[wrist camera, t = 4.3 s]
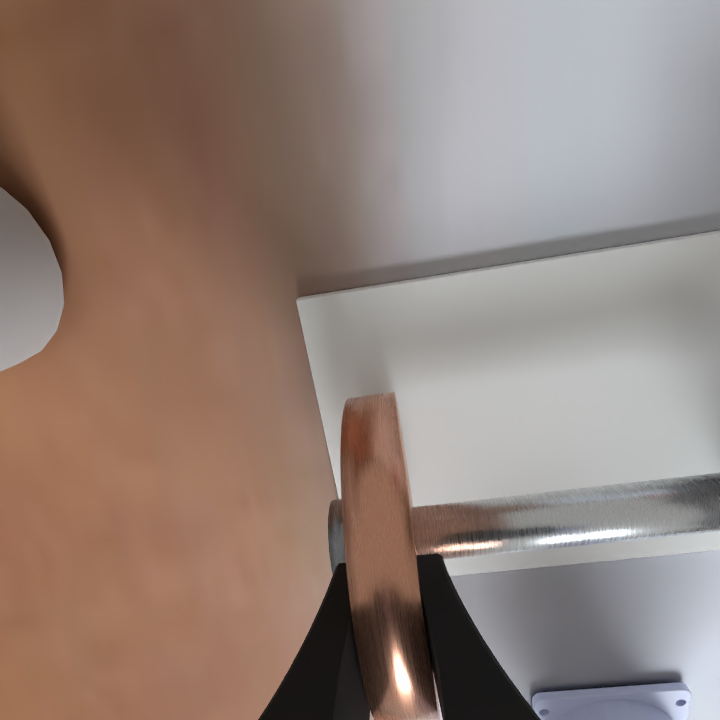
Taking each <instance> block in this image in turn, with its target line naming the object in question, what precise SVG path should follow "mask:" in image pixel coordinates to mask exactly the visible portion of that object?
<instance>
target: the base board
mask: <svg viewBox="0 0 720 720" xmlns="http://www.w3.org/2000/svg"><path fill="white" fill-rule="evenodd" d="M296 302H297V307H298V312H299V316H300V321H301V326H302V330H303V335H304V339H305V344H306V349H307V353H308V358H309V363H310V367H311V372H312V377H313V381H314V386H315V390H316V395H317V400H318V404H319V409H320V414H321V418H322V423H323V428H324V432H325V437H326V442H327V446H328V451H329V455H330V460H331V465H332V469H333V474H334V479H335V483H336V488H337V493H338V497H339V499H341V473H340V448H341V425H342V416H343V410H344V405H345V402H346V400H347V399H348V398H353V397H360V396H367V395H374V394H382V393H389V392H395V394H396V399H397V404H398V410H399V416H400V422H401V429H402V435H403V442H404V448H405V455H406V461H407V468H408V475H409V482H410V489H411V496H412V503H413V507H418V506H427V505H436V504H445V503H454V502H463V501H471V500H480V499H489V498H498V497H507V496H516V495H525V494H533V493H542V492H551V491H560V490H569V489H578V488H586V487H595V486H604V485H613V484H622V483H631V482H639V481H648V480H657V479H666V478H675V477H684V476H693V475H701V474H710V473H719V472H720V230H719V231H713V232H707V233H700V234H694V235H688V236H681V237H675V238H669V239H663V240H656V241H650V242H644V243H637V244H631V245H625V246H619V247H612V248H606V249H600V250H593V251H587V252H581V253H575V254H568V255H562V256H556V257H549V258H543V259H537V260H531V261H524V262H518V263H512V264H505V265H499V266H493V267H487V268H480V269H474V270H468V271H461V272H455V273H449V274H443V275H436V276H430V277H424V278H417V279H411V280H405V281H399V282H392V283H386V284H380V285H373V286H367V287H361V288H355V289H348V290H342V291H336V292H329V293H323V294H317V295H311V296H304V297H299V298H298V299H297V300H296ZM714 550H720V531H719V532H709V533H699V534H690V535H680V536H670V537H660V538H650V539H640V540H631V541H621V542H611V543H601V544H591V545H582V546H572V547H562V548H552V549H542V550H533V551H523V552H513V553H503V554H493V555H483V556H474V557H464V558H454V559H444V563H445V566H446V568H447V571H448V574H449V576H460V575H470V574H480V573H490V572H501V571H511V570H521V569H531V568H541V567H551V566H562V565H572V564H582V563H592V562H602V561H612V560H622V559H633V558H643V557H653V556H663V555H673V554H683V553H694V552H704V551H714Z"/></svg>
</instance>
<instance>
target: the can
mask: <svg viewBox="0 0 720 720" xmlns="http://www.w3.org/2000/svg"><path fill="white" fill-rule="evenodd" d="M63 306H64V296H63V282H62V272H61V270H60V267H59V264H58V262H57V259H56V257H55V254H54V251H53V249H52V246H51V244H50V241H49V239H48V238H47V237H46V235H45V234H44V232H43V231H42V229H41V228H40V227H39V225H38V224H37V222H36V221H35V220H34V218H33V217H32V215H31V214H30V213H29V211H28V210H27V209H26V208H25V207H24V206H22V205H21V204H20V203H19V202H18V201H17V200H15V199H14V198H13V197H12V196H11V195H10V194H8V193H7V192H6V191H5V190H4V189H3V188H1V187H0V371H3V370H5V369H7V368H10V367H12V366H14V365H17V364H19V363H21V362H22V361H24V360H26V359H28V358H30V357H31V356H33V355H35V354H37V353H38V352H40V351H42V349H43V348H44V347H45V345H46V344H47V343H48V342H49V340H50V339H51V338H52V336H53V335H54V334H55V333H56V331H57V328H58V325H59V321H60V317H61V314H62V310H63Z"/></svg>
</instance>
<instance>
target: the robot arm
mask: <svg viewBox="0 0 720 720" xmlns="http://www.w3.org/2000/svg"><path fill="white" fill-rule="evenodd" d="M417 564H418V574H419V583H420V591H421V597H422V604H423V610H424V617H425V623H426V630H427V636H428V643H429V649H430V656H431V662H432V669H433V674H434V678H435V683H436V688H437V693H438V698H439V703H440V707H441V712H442V717H443V720H688V716H689V708H690V700H691V692H690V690H689V689H688V687H687V686H686V685H685V684H683V683H680V682H675V683H662V684H648V685H635V686H621V687H608V688H594V689H580V690H567V691H553V692H541V693H537V694H535V695H534V696H533V698H532V708H533V709H532V708H531V706H530V705H529V704H528V702H527V701H526V700H525V698H524V697H523V696H522V695H521V693H520V692H519V690H518V689H517V688H516V686H515V685H514V684H513V682H512V681H511V679H510V678H509V677H508V675H507V674H506V672H505V671H504V670H503V668H502V667H501V665H500V664H499V662H498V661H497V659H496V658H495V656H494V655H493V653H492V652H491V650H490V649H489V647H488V645H487V644H486V642H485V641H484V639H483V638H482V636H481V634H480V633H479V631H478V629H477V628H476V626H475V624H474V622H473V621H472V619H471V617H470V615H469V614H468V612H467V610H466V608H465V607H464V605H463V603H462V601H461V599H460V597H459V595H458V593H457V591H456V589H455V587H454V585H453V583H452V580H451V578H450V576H449V574H448V571H447V568H446V566H445V563H444V560H443V556H441V555H440V554H439V553H435V554H425V555H417ZM369 718H370V707H369V704H368V701H367V697H366V693H365V689H364V685H363V680H362V675H361V670H360V665H359V659H358V654H357V648H356V642H355V635H354V628H353V621H352V614H351V606H350V597H349V589H348V580H347V570H346V563H339V564H338V565H337V566H336V568H335V571H334V574H333V577H332V579H331V582H330V585H329V587H328V590H327V592H326V595H325V597H324V599H323V602H322V604H321V606H320V609H319V611H318V613H317V615H316V617H315V619H314V622H313V624H312V626H311V628H310V630H309V632H308V634H307V636H306V638H305V640H304V642H303V644H302V646H301V648H300V650H299V652H298V654H297V656H296V657H295V659H294V661H293V663H292V665H291V667H290V669H289V671H288V672H287V674H286V676H285V678H284V679H283V681H282V683H281V684H280V686H279V688H278V689H277V691H276V693H275V694H274V696H273V698H272V699H271V701H270V702H269V704H268V706H267V707H266V709H265V710H264V712H263V713H262V715H261V716H260V718H259V719H258V720H369Z"/></svg>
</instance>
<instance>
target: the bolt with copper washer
mask: <svg viewBox="0 0 720 720" xmlns="http://www.w3.org/2000/svg"><path fill="white" fill-rule="evenodd" d="M340 473H341V499H337V500H332V501H331V504H330V508H329V517H328V539H329V553H330V561H331V567H332V572H333V574H334V571H335V568H336V566H337V565H338V564H339V563H346V570H347V580H348V589H349V597H350V606H351V614H352V621H353V628H354V635H355V642H356V648H357V654H358V659H359V665H360V670H361V675H362V680H363V685H364V689H365V693H366V697H367V701H368V704H369V707H370V710H371V713H372V716H373V718H374V720H440V713H439V702H438V693H437V688H436V683H435V678H434V674H433V669H432V662H431V656H430V649H429V643H428V636H427V630H426V623H425V617H424V610H423V604H422V597H421V591H420V583H419V574H418V564H417V555H425V554H435V553H439V554H440V555H441V556H443V560H444V559H454V558H464V557H474V556H483V555H493V554H503V553H513V552H523V551H533V550H542V549H552V548H562V547H572V546H582V545H591V544H601V543H611V542H621V541H631V540H640V539H650V538H660V537H670V536H680V535H690V534H699V533H709V532H719V531H720V472H719V473H710V474H701V475H693V476H684V477H675V478H666V479H657V480H648V481H639V482H631V483H622V484H613V485H604V486H595V487H586V488H578V489H569V490H560V491H551V492H542V493H533V494H525V495H516V496H507V497H498V498H489V499H480V500H471V501H463V502H454V503H445V504H436V505H427V506H418V507H413V503H412V496H411V489H410V482H409V475H408V468H407V461H406V455H405V448H404V442H403V435H402V429H401V422H400V416H399V410H398V404H397V399H396V394H395V392H389V393H382V394H374V395H367V396H360V397H353V398H348V399H347V400H346V402H345V405H344V410H343V416H342V425H341V448H340Z"/></svg>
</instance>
